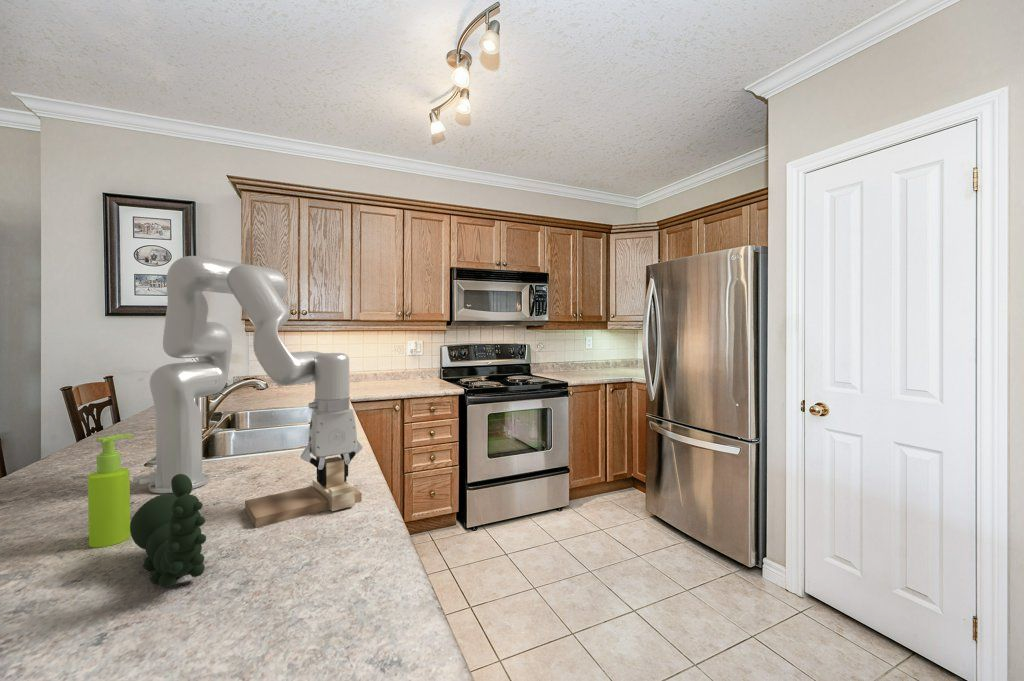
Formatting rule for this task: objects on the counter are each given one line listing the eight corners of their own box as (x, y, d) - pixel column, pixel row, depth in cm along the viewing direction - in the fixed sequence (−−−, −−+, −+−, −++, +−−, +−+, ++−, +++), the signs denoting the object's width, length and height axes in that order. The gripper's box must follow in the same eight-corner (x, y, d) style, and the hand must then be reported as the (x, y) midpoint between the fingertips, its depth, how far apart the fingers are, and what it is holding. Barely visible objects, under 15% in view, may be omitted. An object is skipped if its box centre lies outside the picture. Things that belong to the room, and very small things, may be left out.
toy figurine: (223, 592, 71) (186, 530, 88) (225, 479, 69) (187, 437, 86) (148, 621, 64) (123, 547, 81) (148, 495, 62) (123, 446, 79)
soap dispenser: (143, 533, 88) (142, 433, 87) (101, 549, 81) (99, 441, 80) (124, 529, 89) (122, 430, 89) (81, 544, 83) (79, 438, 82)
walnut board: (255, 527, 90) (255, 518, 90) (244, 509, 99) (244, 500, 99) (361, 501, 105) (361, 492, 105) (343, 487, 114) (343, 479, 114)
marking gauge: (332, 511, 98) (332, 469, 97) (312, 492, 109) (312, 455, 108) (354, 505, 101) (354, 465, 101) (333, 487, 112) (333, 451, 112)
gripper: (298, 411, 96) (299, 495, 96) (373, 403, 107) (373, 479, 107) (289, 407, 102) (290, 486, 102) (361, 399, 112) (361, 471, 113)
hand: (332, 481), depth 105 cm, fingers closed on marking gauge, 4 cm apart
